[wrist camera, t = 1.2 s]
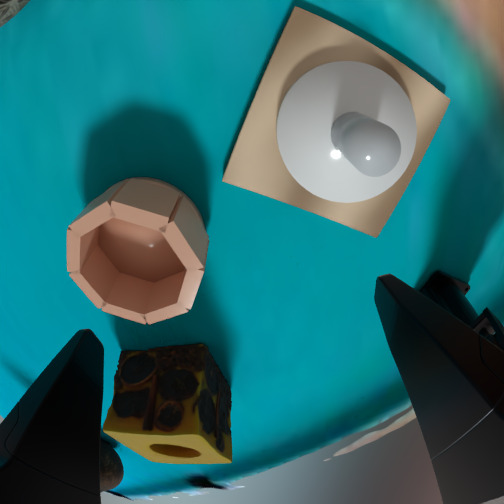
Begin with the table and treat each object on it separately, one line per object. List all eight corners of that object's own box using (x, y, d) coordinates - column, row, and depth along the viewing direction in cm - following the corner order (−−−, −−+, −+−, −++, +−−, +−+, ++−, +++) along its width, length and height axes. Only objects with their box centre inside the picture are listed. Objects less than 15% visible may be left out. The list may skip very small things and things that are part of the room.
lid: (428, 105, 15) (469, 120, 12) (371, 214, 20) (397, 249, 16) (309, 36, 13) (331, 26, 10) (253, 167, 18) (256, 196, 14)
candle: (119, 348, 29) (97, 429, 21) (205, 339, 28) (198, 433, 20) (159, 394, 35) (149, 462, 26) (233, 389, 34) (233, 464, 25)
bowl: (222, 199, 20) (218, 232, 16) (189, 293, 25) (182, 334, 21) (100, 163, 18) (69, 188, 14) (89, 263, 23) (68, 299, 19)
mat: (444, 98, 16) (450, 100, 15) (372, 232, 22) (376, 237, 21) (293, 8, 13) (295, 6, 12) (222, 177, 19) (222, 181, 18)
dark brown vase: (107, 430, 44) (89, 555, 21) (138, 457, 54) (129, 557, 31) (40, 414, 44) (15, 521, 21) (77, 445, 54) (62, 534, 31)
